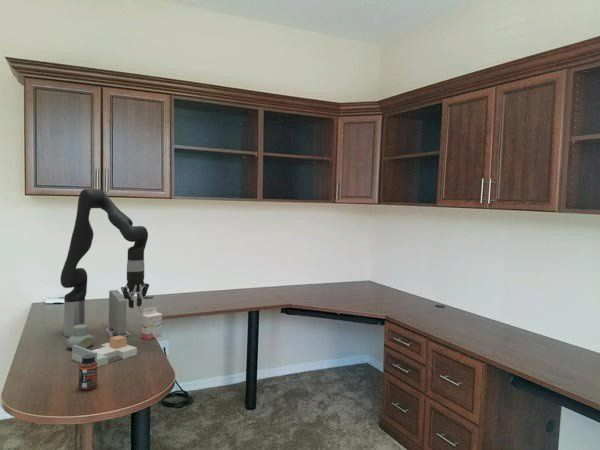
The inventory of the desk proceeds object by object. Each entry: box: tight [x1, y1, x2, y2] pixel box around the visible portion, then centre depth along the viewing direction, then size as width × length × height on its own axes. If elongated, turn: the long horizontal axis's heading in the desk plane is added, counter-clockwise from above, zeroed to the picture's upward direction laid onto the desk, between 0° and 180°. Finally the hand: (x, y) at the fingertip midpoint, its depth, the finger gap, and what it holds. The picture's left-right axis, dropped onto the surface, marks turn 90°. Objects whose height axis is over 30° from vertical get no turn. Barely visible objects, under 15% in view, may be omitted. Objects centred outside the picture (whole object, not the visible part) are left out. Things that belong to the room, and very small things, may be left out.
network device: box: [105, 289, 130, 338], centre depth 218 cm, size 26×9×20 cm, turn 33°
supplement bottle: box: [78, 355, 98, 391], centre depth 152 cm, size 6×6×11 cm
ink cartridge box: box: [141, 306, 163, 341], centre depth 211 cm, size 9×5×15 cm, turn 141°
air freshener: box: [66, 323, 95, 349], centre depth 194 cm, size 11×8×10 cm
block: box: [108, 335, 128, 349], centre depth 188 cm, size 5×5×4 cm
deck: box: [71, 342, 138, 368], centre depth 183 cm, size 16×20×6 cm
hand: (135, 306), depth 194 cm, fingers open, 3 cm apart
